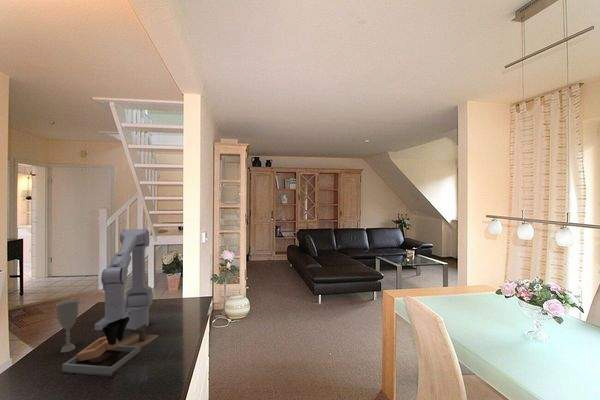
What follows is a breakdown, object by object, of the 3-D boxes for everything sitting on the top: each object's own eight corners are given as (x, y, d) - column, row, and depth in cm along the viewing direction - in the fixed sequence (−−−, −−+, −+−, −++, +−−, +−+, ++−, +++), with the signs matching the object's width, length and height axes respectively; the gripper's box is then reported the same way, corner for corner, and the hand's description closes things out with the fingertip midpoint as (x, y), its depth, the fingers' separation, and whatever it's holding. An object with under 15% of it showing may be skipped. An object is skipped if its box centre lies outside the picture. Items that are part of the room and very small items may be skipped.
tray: (62, 372, 93) (62, 364, 93) (97, 350, 107) (96, 343, 107) (111, 376, 91) (111, 368, 91) (140, 353, 104) (140, 346, 104)
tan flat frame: (79, 361, 98) (75, 354, 98) (102, 343, 106) (100, 337, 106) (105, 355, 94) (102, 348, 94) (128, 337, 103) (125, 331, 102)
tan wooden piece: (113, 348, 108) (113, 331, 108) (132, 336, 118) (132, 320, 118) (142, 350, 107) (142, 332, 107) (159, 337, 117) (159, 321, 117)
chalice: (84, 348, 108) (84, 300, 108) (64, 358, 102) (64, 307, 102) (71, 345, 111) (70, 298, 111) (51, 354, 104) (50, 305, 104)
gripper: (108, 310, 90) (109, 354, 90) (140, 295, 105) (140, 333, 105) (88, 309, 91) (89, 352, 91) (122, 295, 106) (122, 332, 106)
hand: (115, 342), depth 98 cm, fingers closed on tan flat frame, 2 cm apart
